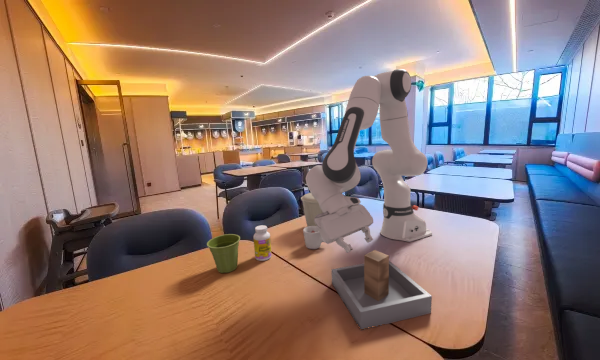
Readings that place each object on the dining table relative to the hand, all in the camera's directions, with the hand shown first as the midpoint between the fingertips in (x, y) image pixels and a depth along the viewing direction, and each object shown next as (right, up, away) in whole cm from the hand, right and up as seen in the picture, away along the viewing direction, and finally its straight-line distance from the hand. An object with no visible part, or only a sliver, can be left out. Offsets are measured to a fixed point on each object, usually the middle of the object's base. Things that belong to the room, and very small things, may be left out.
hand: (360, 246), depth 73 cm
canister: (-8, -5, +53) cm, 53 cm away
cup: (-11, -9, +32) cm, 35 cm away
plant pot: (-46, -14, +18) cm, 51 cm away
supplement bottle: (-33, -12, +25) cm, 43 cm away
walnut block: (+4, -13, -3) cm, 14 cm away
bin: (+4, -14, -2) cm, 15 cm away
